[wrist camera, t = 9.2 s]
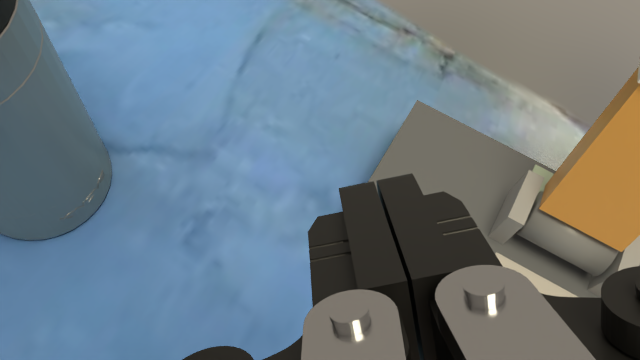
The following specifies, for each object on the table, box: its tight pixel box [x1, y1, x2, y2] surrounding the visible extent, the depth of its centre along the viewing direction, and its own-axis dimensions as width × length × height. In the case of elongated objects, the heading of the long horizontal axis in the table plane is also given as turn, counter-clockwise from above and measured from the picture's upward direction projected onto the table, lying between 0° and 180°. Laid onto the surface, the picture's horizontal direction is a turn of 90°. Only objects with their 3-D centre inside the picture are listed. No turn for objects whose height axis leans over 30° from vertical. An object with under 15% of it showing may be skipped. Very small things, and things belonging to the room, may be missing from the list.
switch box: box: [368, 100, 640, 298], centre depth 36 cm, size 24×10×8 cm, turn 60°
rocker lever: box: [516, 58, 640, 276], centre depth 30 cm, size 5×3×13 cm, turn 60°
